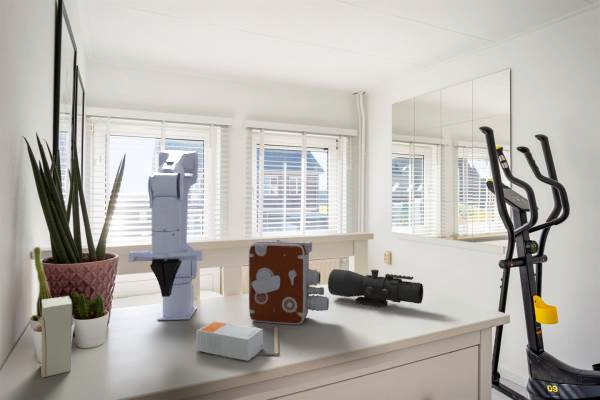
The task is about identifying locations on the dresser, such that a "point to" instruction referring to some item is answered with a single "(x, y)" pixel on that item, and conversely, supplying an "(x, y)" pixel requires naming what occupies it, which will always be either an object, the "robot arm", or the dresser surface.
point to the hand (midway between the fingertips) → (166, 295)
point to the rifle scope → (374, 288)
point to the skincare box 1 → (56, 336)
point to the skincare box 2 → (230, 340)
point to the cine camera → (283, 282)
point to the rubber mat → (267, 343)
